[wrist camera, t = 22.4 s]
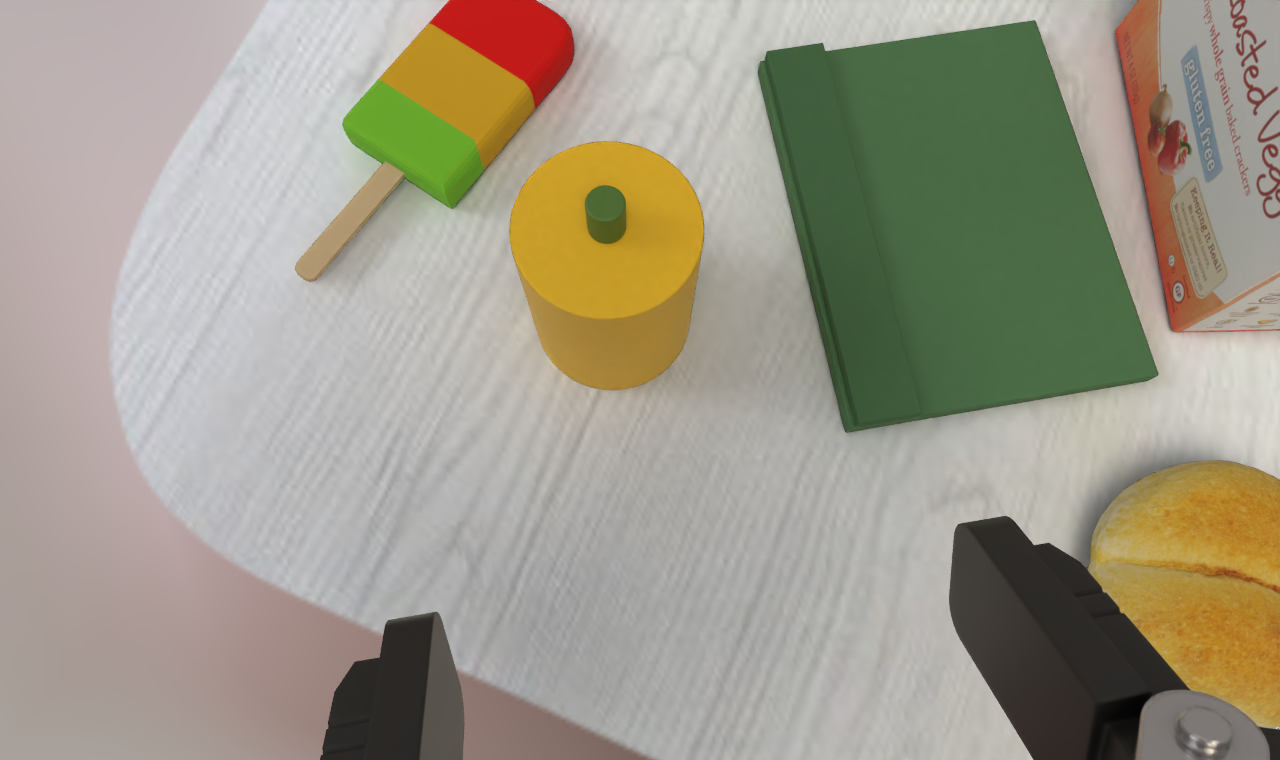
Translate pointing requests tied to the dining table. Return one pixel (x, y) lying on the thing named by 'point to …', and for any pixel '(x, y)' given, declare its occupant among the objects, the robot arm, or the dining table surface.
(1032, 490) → the dining table surface
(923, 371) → the green notebook
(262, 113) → the dining table surface
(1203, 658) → the bread roll
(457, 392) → the dining table surface
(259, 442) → the dining table surface
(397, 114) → the popsicle
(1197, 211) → the cracker box
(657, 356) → the yellow cylinder with peg
